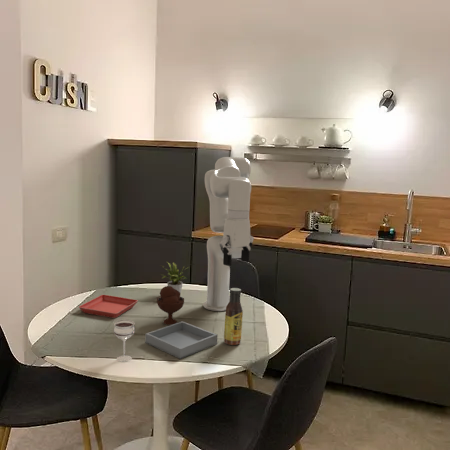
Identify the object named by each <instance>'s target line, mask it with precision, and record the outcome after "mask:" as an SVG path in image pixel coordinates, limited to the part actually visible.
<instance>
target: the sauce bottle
mask: <svg viewBox="0 0 450 450" xmlns="http://www.w3.org/2000/svg"><path fill="white" fill-rule="evenodd" d="M241 294H242V289H241V288H238V287H232V288H231V287H230V288H229V296H230V302H229V303H228V305H227V306H226V310H225V313H224V314H225V315H224V317H225V318H224V330H223V338H224V340H223V341H224V343H225V345H229V346H238V345H240V343H241V340H242V331H243V316H244V315H243V314H244V311H243V307H242V303H241Z"/></svg>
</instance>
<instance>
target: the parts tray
mask: <svg viewBox="0 0 450 450" xmlns="http://www.w3.org/2000/svg"><path fill="white" fill-rule="evenodd" d="M144 335H145V338H144V339H145V340H144V343H145V344H147V345H149V346H151V347H153V348H155V349H158V350H159V351H162V352H165V353H166V354H169V355H171V356H172V357H175V358H177V359H179V360H182V359H184V358H186V357H189V356H191V355H194V354H196V353H198V352H201V351H203V350H206V349H208V348H211V347H212V346H215V345H218V334H216V333H214V332H211V331H210V330H209V331H208V330H206V329H205V328H202V327H200V326H199V327H198V326H197V325H193V324H191V323H187V322H186V321H178V322H177V323H176V324H173V325H166V326H165V327H161V328H157V329H155V330H151V331H150V332H146V333H145V334H144Z"/></svg>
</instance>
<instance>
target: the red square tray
mask: <svg viewBox="0 0 450 450" xmlns="http://www.w3.org/2000/svg"><path fill="white" fill-rule="evenodd" d="M138 302H139V300H138V299H134V298H126V297H121V296H115V295H106V294H101V295H99V296H96V297H95V298H93V299H91V300H89V301H87V302H85V303H84V304H83V303H82V304H81V305H79V306H78V308H79V310H81V312H83V313H85V314H89V315H96V316H101V317H107V318H112V319H116V318H118V317H119V316H121V315H122V314H124V313H126V312H127V311H129V310H131V309H133V307H134V306H135V305H136V304H137V303H138Z"/></svg>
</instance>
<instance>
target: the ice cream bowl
mask: <svg viewBox="0 0 450 450" xmlns="http://www.w3.org/2000/svg"><path fill="white" fill-rule="evenodd" d="M159 295H160V296H159V297H157V298H156V303H157V306H158V308H159V309H160V310H161V311H162V312H164V313H166V314H167V315H168V316H167V318H165V319H164V320H163V323H162V324H165V325H166V326H170V325H173V324H176V323H178V321H177V320H176V319H175V318H173V315H174V314H175V313H176V312H178V311H180V310H181V309H183V306H184V304H185V298H184V297H182V296H181V295H182V294H180V292H179V291H177V290H176V289H174V288H173V287H171V286H168V285H166V286H164V287H162V288H161V290H160V292H159Z"/></svg>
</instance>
